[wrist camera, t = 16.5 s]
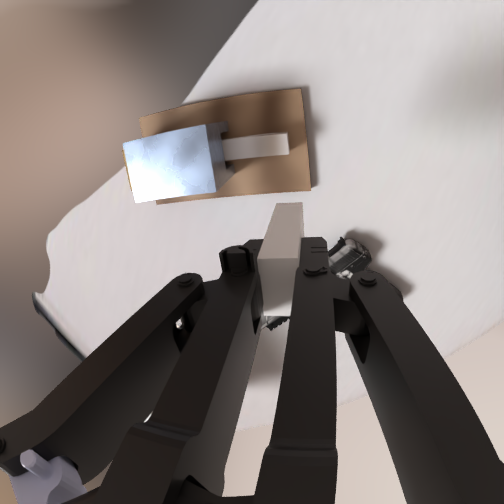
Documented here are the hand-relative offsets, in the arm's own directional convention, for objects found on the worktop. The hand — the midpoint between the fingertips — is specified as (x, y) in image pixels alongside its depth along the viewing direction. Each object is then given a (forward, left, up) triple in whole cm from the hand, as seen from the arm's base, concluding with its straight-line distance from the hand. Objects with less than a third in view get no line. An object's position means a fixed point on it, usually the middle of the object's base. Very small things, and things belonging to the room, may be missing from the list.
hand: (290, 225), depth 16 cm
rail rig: (+9, -3, -18) cm, 20 cm away
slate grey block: (+12, -3, -17) cm, 21 cm away
